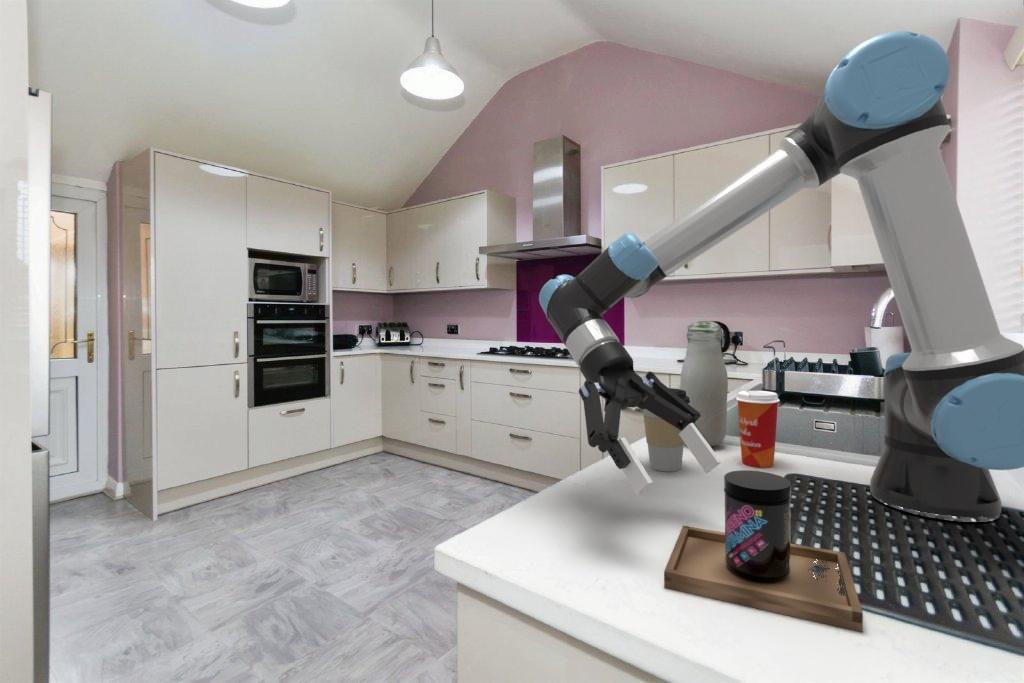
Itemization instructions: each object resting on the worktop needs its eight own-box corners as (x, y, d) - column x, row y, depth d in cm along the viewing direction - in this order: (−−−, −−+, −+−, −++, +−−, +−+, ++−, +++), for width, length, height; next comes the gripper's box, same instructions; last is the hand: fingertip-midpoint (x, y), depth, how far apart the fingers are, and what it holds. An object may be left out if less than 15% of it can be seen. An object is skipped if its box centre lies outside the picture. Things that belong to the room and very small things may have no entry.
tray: (844, 567, 58) (844, 552, 57) (862, 632, 46) (862, 613, 46) (683, 538, 66) (682, 525, 66) (664, 587, 54) (664, 571, 54)
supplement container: (720, 553, 60) (719, 468, 60) (781, 558, 58) (781, 471, 58) (729, 582, 54) (729, 487, 53) (799, 589, 52) (799, 491, 51)
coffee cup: (694, 475, 91) (693, 394, 90) (641, 473, 93) (640, 394, 92) (686, 460, 100) (686, 387, 99) (639, 459, 102) (638, 387, 101)
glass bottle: (681, 450, 108) (680, 322, 106) (680, 438, 117) (679, 321, 116) (730, 453, 105) (730, 321, 103) (725, 441, 114) (725, 320, 113)
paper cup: (729, 458, 101) (729, 390, 100) (767, 457, 101) (767, 389, 100) (746, 470, 93) (746, 396, 93) (788, 469, 93) (788, 395, 92)
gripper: (643, 365, 85) (721, 473, 73) (523, 378, 72) (595, 513, 60) (668, 335, 80) (756, 445, 69) (544, 343, 67) (627, 482, 55)
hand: (681, 477), depth 64 cm, fingers open, 13 cm apart
